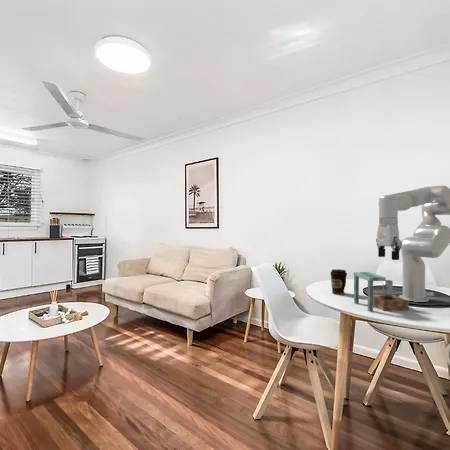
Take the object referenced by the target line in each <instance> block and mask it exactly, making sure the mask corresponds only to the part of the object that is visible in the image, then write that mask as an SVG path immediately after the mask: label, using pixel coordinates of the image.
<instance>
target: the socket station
mask: <svg viewBox="0 0 450 450" xmlns="http://www.w3.org/2000/svg"><path fill="white" fill-rule="evenodd" d="M360 279H363V280H366V281H367V311H368V312H374V307H375V308H378V309H380V310H381V311H409V310H410V309H409V308H410V302H409V301H408V300H405V299H402V298H400V297H399V296H397V295H395V294H393V299H387V300H386V299H383V293H382V294H381V293H380V294H378V293H377V294H374V282H383V281H385V280H386V277H385V276H382V275H379V274H376V273H372V272H371V271H357V272H356V271H355V272H353V303H354V304H355V305H358V304H359V302H360V301H359V300H360V299H359V296H360V294H359V293H360V292H359V291H360V288H359V286H360Z"/></svg>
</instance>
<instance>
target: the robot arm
mask: <svg viewBox="0 0 450 450" xmlns="http://www.w3.org/2000/svg"><path fill="white" fill-rule="evenodd" d="M420 206H421V216H422V221H421V222H420V224H418V226H417V227H416V229H415V230H414V232H413V234H412V236H409V237H405V238H403V239H402V240H400V230H399V224H398V223H399V222H398V221H399V220H398V219H399V213H398V212H403V211H404V212H405V211H408V210H410V209H411V208H417V207H420ZM437 216H450V188H449V186H446V185H434V186H433V185H432V186H424V187H420V188H417V189H412V190H405V191H401V192H396V193H392V194H385V195H381V196H379V198H378V226H377V232H376V233H377V234H376V239H375V241H376V246H377V249H378V250H377V251H378V252H377V254H378V255H377V256H378V258H385V257H386V248H385V247H387V248H388V247H391V249H392V250H391V260H393V261H399V260H400V251H401V257H402V294H399V295H398V297H400V298H402V299H405V300H408V301H414V302H413V303H415V302H427V303H429V302H428V301H430V299H429V298H428V297H435V293H434V292H433V291H432V292H431V291H430V292H428V291H426V264H425V262H424V260H423V259H422V258H428V259H436V258H437V259H438V258H439V257H441V255H442V254H443V253H444V251H445V250H446V249H447V248H448V246H449V245H450V227H449V226H446V225H442V222H441V221H440V219H439V218H438V217H437Z"/></svg>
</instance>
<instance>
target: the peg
mask: <svg viewBox="0 0 450 450" xmlns="http://www.w3.org/2000/svg"><path fill="white" fill-rule="evenodd" d="M393 282H394V281H393V280H392V279H385V281H382V294H383V299H386V300H387V299H393V295H394V294H393V293H394V292H393V287H394V286H393V285H394V283H393Z"/></svg>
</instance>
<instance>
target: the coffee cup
mask: <svg viewBox="0 0 450 450" xmlns="http://www.w3.org/2000/svg"><path fill="white" fill-rule="evenodd" d="M347 276H348V273H347V270H345V269H335V268H334V269H331V271H330V282H331V283H330V284H331V285H330V286H331V290H332V291H331V292H332V294H334V295H338V296H339V295H340V296H343V295H346V294H345V288H346V285H347Z"/></svg>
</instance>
